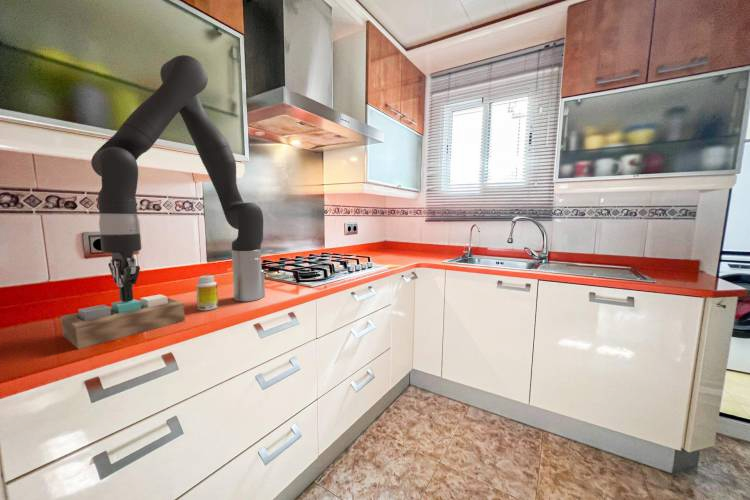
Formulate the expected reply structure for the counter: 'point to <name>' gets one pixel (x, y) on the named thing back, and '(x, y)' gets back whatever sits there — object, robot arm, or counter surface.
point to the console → (120, 324)
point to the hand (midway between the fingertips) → (126, 300)
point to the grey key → (94, 312)
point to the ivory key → (154, 300)
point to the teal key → (126, 306)
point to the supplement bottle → (207, 293)
